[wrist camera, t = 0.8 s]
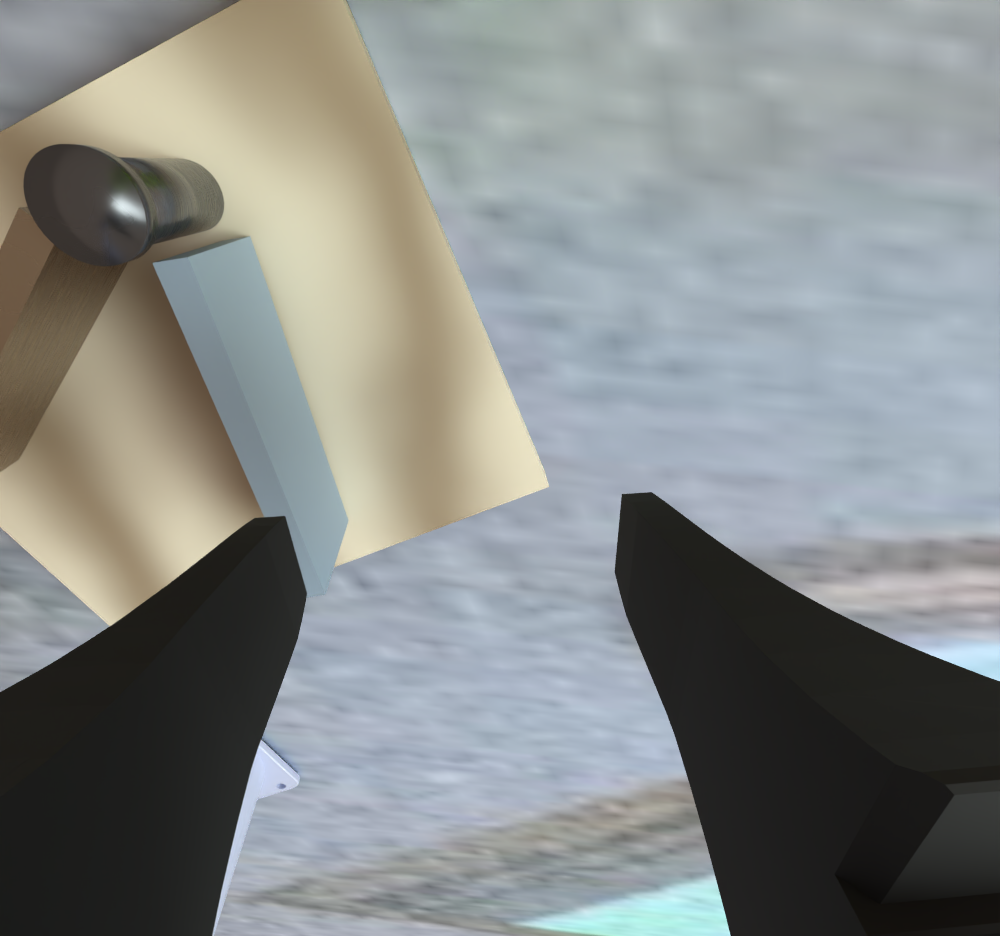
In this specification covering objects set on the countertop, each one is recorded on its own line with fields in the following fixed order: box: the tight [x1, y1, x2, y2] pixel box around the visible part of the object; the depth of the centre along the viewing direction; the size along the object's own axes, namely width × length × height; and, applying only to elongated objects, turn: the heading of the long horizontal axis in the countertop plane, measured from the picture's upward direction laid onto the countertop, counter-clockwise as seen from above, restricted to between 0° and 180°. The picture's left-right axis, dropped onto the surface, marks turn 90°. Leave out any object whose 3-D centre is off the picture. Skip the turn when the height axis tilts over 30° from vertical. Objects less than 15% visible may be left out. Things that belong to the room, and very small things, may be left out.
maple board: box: [0, 0, 549, 626], centre depth 18 cm, size 19×16×1 cm
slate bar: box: [152, 236, 349, 597], centre depth 16 cm, size 10×1×4 cm, turn 8°
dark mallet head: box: [0, 144, 224, 472], centre depth 14 cm, size 12×2×5 cm, turn 138°
